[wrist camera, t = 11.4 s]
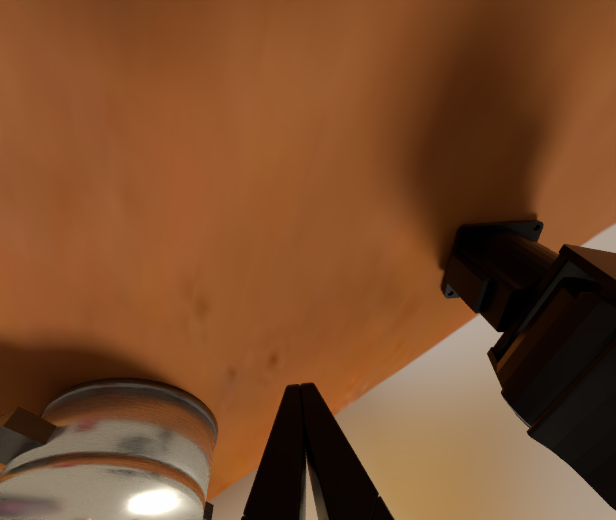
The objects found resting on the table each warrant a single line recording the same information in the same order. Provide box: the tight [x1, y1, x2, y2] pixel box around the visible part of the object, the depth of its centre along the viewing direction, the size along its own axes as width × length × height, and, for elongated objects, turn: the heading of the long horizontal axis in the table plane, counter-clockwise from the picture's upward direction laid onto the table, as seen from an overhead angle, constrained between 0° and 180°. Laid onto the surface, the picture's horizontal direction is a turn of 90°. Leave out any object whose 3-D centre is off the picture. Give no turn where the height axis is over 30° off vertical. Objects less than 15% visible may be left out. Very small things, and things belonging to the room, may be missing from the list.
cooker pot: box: [0, 378, 218, 520], centre depth 27 cm, size 16×22×6 cm
